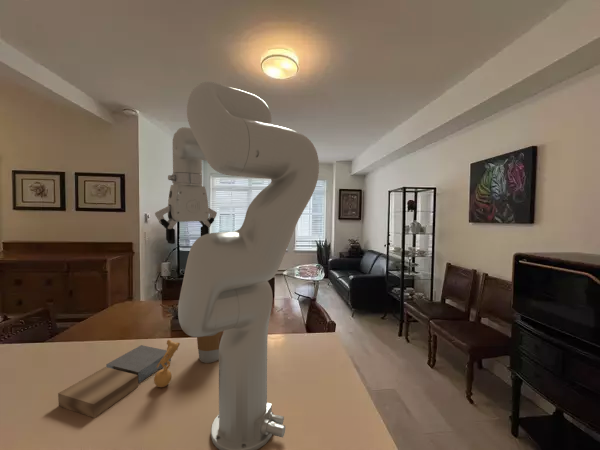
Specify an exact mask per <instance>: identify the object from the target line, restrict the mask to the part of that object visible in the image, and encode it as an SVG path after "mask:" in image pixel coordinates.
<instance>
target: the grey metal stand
mask: <svg viewBox="0 0 600 450" xmlns="http://www.w3.org/2000/svg"><path fill="white" fill-rule="evenodd" d="M166 352H167V349H161V348H156V347H153V346H147V345H144V344H143V345H142V344H141V345H139V346H137V347H135V348H134V349H132V350H130V351H128V352H126V353H124V354H122V355H121V356H119V357H117V358H115V359H113V360H111V361H109V362H108V363H106V365H105V367H108V368H112V369H116V370H120V371H124V372H128V373H132V374H136V375H138V384H140V383H142V382H143V381H145V380H146V379H148V378H149V377H151V376H152V375H153V374H155V373H157V372H158V371H160V370H161V369H162V368H164V367H163V366H162V365H161V363H160V365H159V367H157V364H159V362H160V360H161V359H162V358H163V357H164V355H165V353H166ZM167 356H168V355H167ZM165 358H166V357H165ZM168 361H170V362H172V358H170V359H169V360H168ZM165 365H166V366H167V365H168V364H167V362H166V363H165Z"/></svg>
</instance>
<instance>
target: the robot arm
mask: <svg viewBox="0 0 600 450" xmlns="http://www.w3.org/2000/svg"><path fill="white" fill-rule="evenodd" d="M186 105H187V106H186V117H187V123H188V125H189V127H186V126H185V127H180V128H178V129H176V130H177V131H175V133H174V134H173V137H172V173H171V175H170V174H169V175H168V176H167V180H168V181H170V182H172V184H171V185H170V188H169V193H168V200H167V202H168V203H167V206H166V207H164V208H161V209H160V210H158V211H155V212H154V216H155V217H156V219H157V220H158V223H159V224H160V225H161V226H162V227H163V228H164V229H165V239H166V241H167V244H171V245H175V243H176V230H175V229H174V227H175V226H176V224H177V223H178V222H180V223H185V222H186V223H187V222H194V223H195V222H199V223H200V225H201V226H200V236H199V237H198V238H197V239H196V240H195V241H194V242H193V243H192V245H191V247H190V249H189V253H188V256H187V260H186V264H185V270H184V274H183V280H182V285H181V288H180V293H179V299H178V304H177V305H178V306H177V307H178V308H177V312H178V313H177V316H178V317H177V318H178V322H179V326H180V327H181V329H182V331H183V332H184V333H185V334H186V335H187V336H188V337H192V338H197V337H203V336H207V335H211V334H214V333H218V332H221V331H223V336H222V338H221V341H220V345H219V359H218V414H217V416H216V417H215V418H214V419H213V422H212V424H211V428H210V438H211V442H212V443H213V445H214V446H215V447H216V449H218V450H259V449H261V448H262V447H263V446H265V445H266V444H267V443H268V442H269V441H270V439H271V438H272V436H275V437H279V438H284V436H285V433H286V425H284V424H283V423H284V420H285V416H283V415H279V414H274V412H273V411H272V406H273V404H272V403H270V402H268V333H269V324H270V317H271V313H272V309H273V302H274V301H273V300H274V299H273V297H274V296H273V290H272V287H271V285H270V282H269V281H270V280H271V279H273V278H274V277H275V276H276V275H277V272H278V271H279V269H280V266H281V265H282V262H283V260H284V258H285V257H284V256H285V255H286V252H287V249H288V247H289V244H290V243H291V239H292V237H293V234H294V231H295V228H296V227H297V224H298V222H299V220H300V218H301V216H302V214H303V213H304V210H305V209H306V207H307V206H308V204H309V202H310V200H311V198H312V196H313V194H314V191H315V189H316V187H317V184H318V179H319V173H320V171H319V170H320V162H319V161H320V160H319V154H318V152H317V149H316V147H315V146H314V144H313V142H312V141H311V140H310V139H309V138H308V137H307V136H306V135H304V134H302V133H301V132H298V131H296V130H294V129H290V128H287V127H284V126H279V125H276V124H272V112H271V110H270V108H269V106H268V104H267V103H266V101H264V99H262V98H260V97H259V96H257V95H256V94H254V93H251V92H247V91H245V90H241V89H238V88H234V87H231V86H228V85H225V84H221V83H217V82H213V81H203V82H200V83H199V84H197V85H196V86H195V87H194V88H192V91H191V92H190V94H189V96H188V100H187V104H186ZM203 161H206V162H207V163H208V164H209V166H210V167H211V168H212V170H214V171H216V172H217V173H220V174H221V175H224V176H225V175H226V176H232V177H245V178H255V179H270V183H269V184H268V185H267V186H265V188H263V189H262V190H261V191H259V192H258V194H257V195H256V196H255V197H254V198H253V200H252V201H251V203H250V204H249V205H248V207H247V209H246V212H245V216H244V220H243V223H242V225H241V227H240V228H239V229H236V230H233V231H221V232H220V231H219V232H217V231H216V232H210V228H211V225H212V224H213V223H214V222H215V218H216V217H217V213H218V212H217V211H215V210H213V209H212V208H211V207H209V202H208V195H207V190H206V186H203ZM165 214H167V218H168V220H166V219H165V217H164V215H165Z"/></svg>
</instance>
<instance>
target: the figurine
mask: <svg viewBox="0 0 600 450" xmlns="http://www.w3.org/2000/svg"><path fill="white" fill-rule="evenodd" d="M166 345H167V347H166V350H167V352H166V353H165V355H164V357H163V358H162V359H161V360H160V362H159V364H157V367H159V365H160V363H161V365H162V366H163V367H162V368H163V369H159V370H158V371H156V374H155V375H154V377H153V384H154V385H155V386H156V387H158V388H164V387H166V386H168V385H169V384H170V382H171V381H172V378H173V377H172V372H171V371H170V370H169V368H170V366H171V361H168V360H169V359H170V358H171V359H173V356H174V354H175V353H176V351H178V349H179V346H180V345H181V343H180V342H176V341H173V340H171V339H168V340H166ZM167 355H168V356H167ZM165 357H166V358H165ZM166 362H167V364H166V365H165V363H166Z"/></svg>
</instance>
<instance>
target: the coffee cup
mask: <svg viewBox="0 0 600 450" xmlns="http://www.w3.org/2000/svg"><path fill="white" fill-rule="evenodd" d="M223 333H224V331H221V332H218V333H214V334H211V335H207V336H203V337H196V341H197V349H198V359H199V360H200V362H202V363H204V364H205V363H206V364H207V363H208V364H209V363H214V362H216V361H219V345H220V341H221V338H222V336H223Z"/></svg>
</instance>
